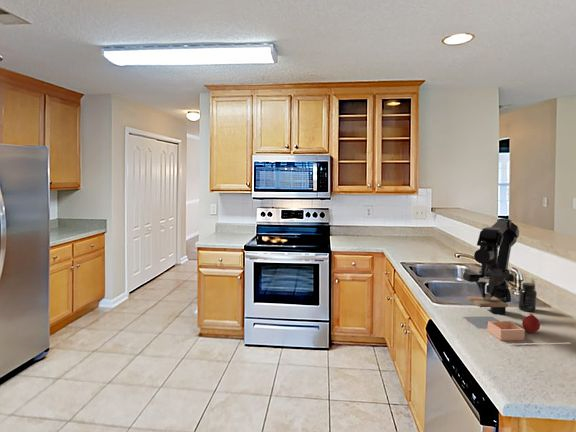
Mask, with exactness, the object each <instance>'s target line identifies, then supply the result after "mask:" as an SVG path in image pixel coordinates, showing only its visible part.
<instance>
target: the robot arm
mask: <svg viewBox="0 0 576 432" xmlns="http://www.w3.org/2000/svg"><path fill="white" fill-rule="evenodd" d="M519 236H520V229H519V227H518V225H516V224H515V223H514V222H512V220H511V219H509V218H498V219H497V221H496V222H495V223H494V224H493V225H492V226H490V227H483V228H481V230H480V232H479V235H478V240H477V242H476V246H478V247H479V248H478V249H477V250H476V251H475V252H474V254H473V255H474V256H473V257H474V260H475V261H476V262H477V263H479V264H480V265H481V266H480V270H479V271H478V273H479V274H478V273H476V272H474V271H464V273H463V274H462V279H463V280H465V281H467V282H470V283H476V286H477V287H478V289H479V292H480V296H482V297H483V298H484V297H485V293H490V294H491V298H492V297H493V296H494V297H496V298H498V299H499V300H501V301H503V302H505V303H511V302H512V301H511V300H512V296H511V292H510V288H509V287H510V286H509V284H508V283H510V282H511V283H513V282H515V276H514V274H513V273H510V272H511V271H510V270H509V269H508V267H509V263H510V256H511V250H512V247H513V246H514V245H515V244H516V243H517V240H518V238H519ZM486 280H488V284H487V281H486ZM486 285H487V286H486ZM489 308H490V309H489ZM489 308H488V309H487V311H488V312H489V313H491V314H492V315H496V316H498V315H500V316H501V315H509V313H507V312H506V309H507V307H489Z"/></svg>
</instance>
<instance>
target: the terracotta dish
mask: <svg viewBox="0 0 576 432" xmlns="http://www.w3.org/2000/svg"><path fill="white" fill-rule="evenodd" d="M486 332H488V333H489V334H490V335H492V336H493V337H495V338H496V339H498V340H499V341H501V342H503V341H504V342H507V341H508V342H509V341H511V342H513V341H524V340H525V334H526V333H525V332H526V330H525V329H524V328H523V327H521V326H519V325H517V324H516V323H514V322H512V321H511V320H509V321H508V320H505V321H504V320H503V321H502V320H499V321H488V328H486Z"/></svg>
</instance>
